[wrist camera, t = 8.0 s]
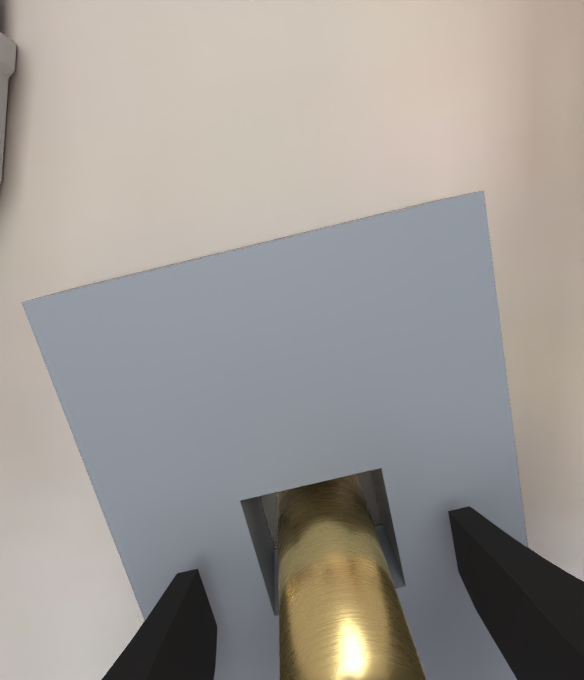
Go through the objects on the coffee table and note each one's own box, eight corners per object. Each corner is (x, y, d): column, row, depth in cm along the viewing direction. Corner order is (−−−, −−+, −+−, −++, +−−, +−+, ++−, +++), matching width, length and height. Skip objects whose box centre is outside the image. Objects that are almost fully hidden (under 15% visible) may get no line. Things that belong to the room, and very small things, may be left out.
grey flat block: (505, 645, 18) (549, 723, 15) (222, 708, 18) (213, 797, 16) (440, 199, 14) (483, 190, 11) (73, 288, 14) (21, 302, 11)
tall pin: (363, 518, 17) (441, 768, 9) (284, 530, 17) (292, 791, 9) (353, 445, 16) (430, 648, 8) (271, 458, 16) (268, 674, 8)
